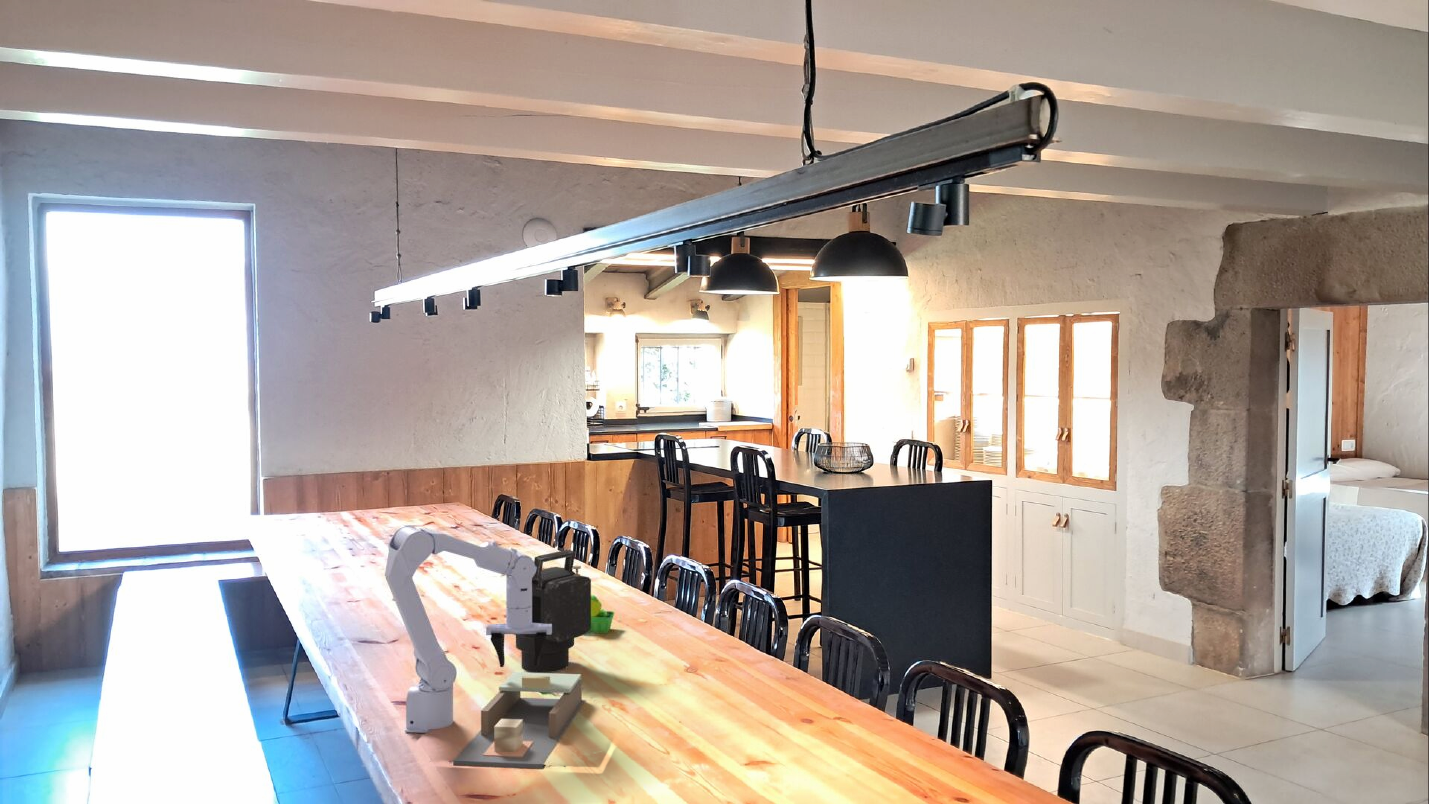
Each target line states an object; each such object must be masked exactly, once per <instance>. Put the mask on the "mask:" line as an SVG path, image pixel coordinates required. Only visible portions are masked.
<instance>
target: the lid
mask: <svg viewBox="0 0 1429 804" xmlns="http://www.w3.org/2000/svg"><path fill="white" fill-rule="evenodd" d="M580 678H582V674H581V673H577V674H576V673H555V672H546V673H537V672H525V671H524V672H521V671H520V672H519V671H518V672H517V671H513V672H512V673H511V674H510V675H508V677H507V678H506V679H505V680H504V681H503V682H502V683H501V684H500V685H499V686H498V692H499V691H520V692H527V693H528V692H529V693H539V692H550V693H551V692H552V693H558V694H564V693H570V692H571V691H572V689H573V688H574V687H575V685H576V684H577V683H578V681H579V680H580ZM552 693H551V694H552Z"/></svg>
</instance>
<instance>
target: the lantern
mask: <svg viewBox="0 0 1429 804" xmlns="http://www.w3.org/2000/svg"><path fill="white" fill-rule="evenodd" d="M575 556H576V552H575V551H573V550H571V549H565V550H559V551H556V552H551V553H546V554H541V555H537V556H534V559H533V561H534V563H535V566H536V567H537V569H536V573H535V575H534V576H533V578H532V623H540V624H552V633H551V634H550V635H547V636H546V639H545V641H544V643H543V646H542V649H541V652H540V656H539V664H538V666H537V667H534V659H535V642H534V637H535V635H536V634H513V635H514V636H515V648H516V649H517V650H519V651H521V669H523V670H524V671H526V672H529V671H530V672H529V673H555V672H560V671H563V670H564V669H566V667H567V668H568V667H569V665H570V664H569V662H570V661H569V659H570V656H569V654H570V651H569V650H570V649H572V648H573V647H574V646H575V638H578V637H582V636H583V635H586V634H589V633H588V632H589V631H590V629H591V595H592V580H591V578H590V576H583V575H581V574H579V570H580V569H582V566H581V565H574V563H575V562H574V561H575ZM559 559H564V567H559V566H553V567H552V566H551V567H548V568H543V566H544V565H543V564H544V563H545V562H546V563H547V562H550V561H555V560H559ZM573 570H575V572H574V571H573ZM559 670H560V671H559Z"/></svg>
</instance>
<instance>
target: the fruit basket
mask: <svg viewBox="0 0 1429 804" xmlns="http://www.w3.org/2000/svg"><path fill="white" fill-rule="evenodd" d="M602 605H603V604H602V603H601V601H600V600H599V599H598V597H596V596H595V594H594V595H593V594H591V629H590V631H589V632H588V633H587V634H590V633H591V632H593V634H594V633H595V634H607V633H609V630H610V629H611V626H612V623H613V618H614V616H615V611H613V610H609V611H608V610H605V609H603V608H602Z"/></svg>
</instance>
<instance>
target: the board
mask: <svg viewBox="0 0 1429 804" xmlns="http://www.w3.org/2000/svg"><path fill="white" fill-rule="evenodd" d="M582 681H583V678H582V677H581V678H580V680H579V681H578V683H577V684H576V685H575V687H574V688H573V689H572V691H571V692H570V693H562V695H560V696H561V697H559V698H537V697H535V698H533V697H521V696H522V695H521V691H499V690H498V692H497V693H496V695H495V696H494V697H493V698H492V699H491V700H490V701H489V702H488V703H487V704H486V705H485V706H484V707H483V708H482V709H481V710H480V731H478V732H477V733H476V734H475V736H474V737H473V738H472V739H471V740H470V741H469V743H467V745H466V746H465V747H464V748H463V749H462V750H461V751H460V752H459V754H457V755H456V756H455V758H454V759H453V760H452V766H453V767H455V766H456V767H475V768H476V767H477V768H478V767H479V768H498V769H499V768H501V769H502V768H505V769H527V770H529V769H530V770H544V769H545V768H546V766H547V765H546V764H545V762H546V761H547V759H548V758H549V756H551V754H552V752H553V750H555V748H556V746H557V745H558V743H559V742H560V740H561V738H562V737H563V736H564V734H565V733H566V731H567V730H568V728H569V727H570V725H571V724H572V722H573V720H574V719H575V717H576V716H577V714H578V713H579V712H580V710H581V708H582V707H583V705H584V704H585V703H586V699H582V697H583V696H582V693H583V691H582V690H583V686H582V685H583V683H582ZM501 719H520V720H523V744H522V746H521V747H520V748H519V749H518V751H517V752H501V751H494V726H495V725H496V724H497V723H498V722H499V721H500V720H501Z"/></svg>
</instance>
